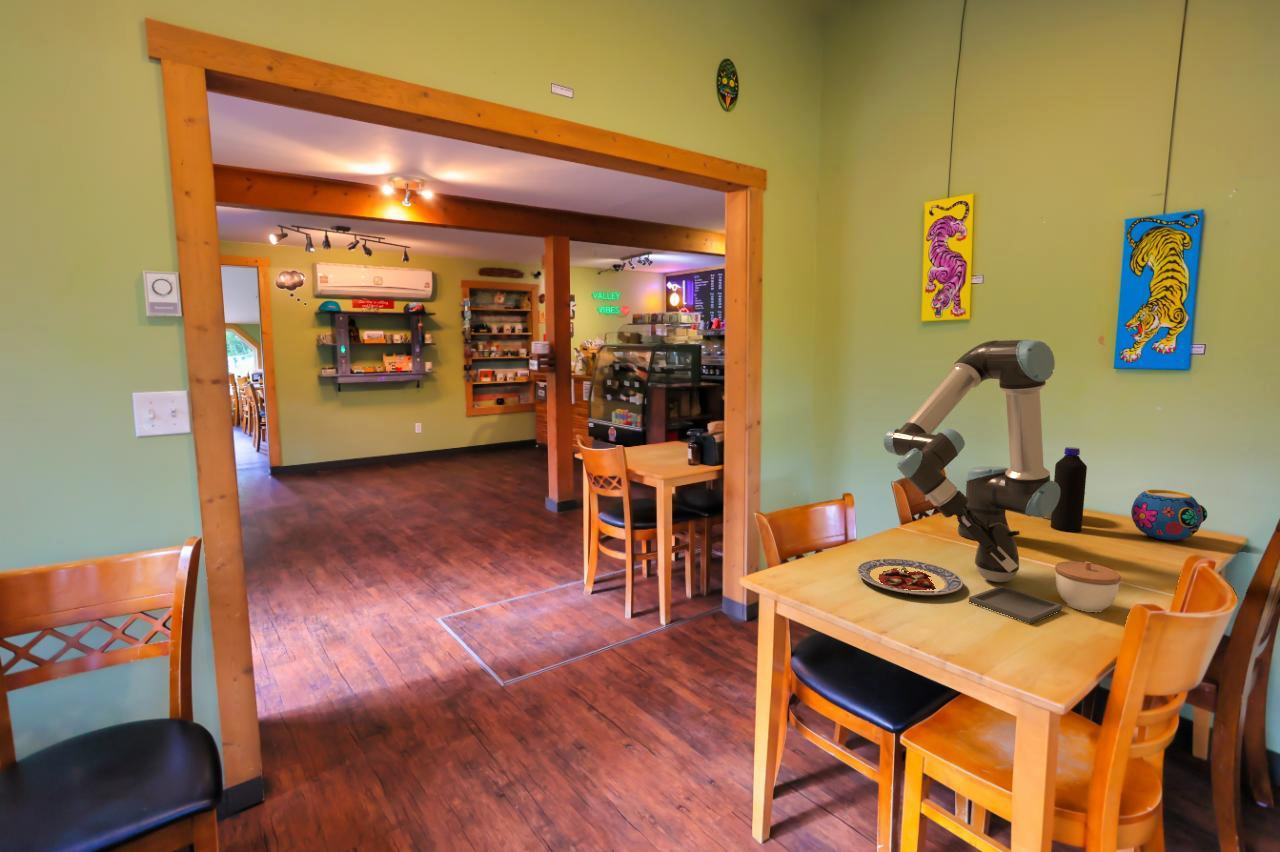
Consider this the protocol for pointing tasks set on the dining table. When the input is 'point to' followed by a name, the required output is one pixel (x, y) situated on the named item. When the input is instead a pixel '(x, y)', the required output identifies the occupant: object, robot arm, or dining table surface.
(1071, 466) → the bottle
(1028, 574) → the dining table surface
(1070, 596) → the lidded bowl
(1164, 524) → the ceramic pot
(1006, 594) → the tray
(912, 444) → the robot arm
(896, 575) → the ceramic plate
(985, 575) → the pump dispenser
